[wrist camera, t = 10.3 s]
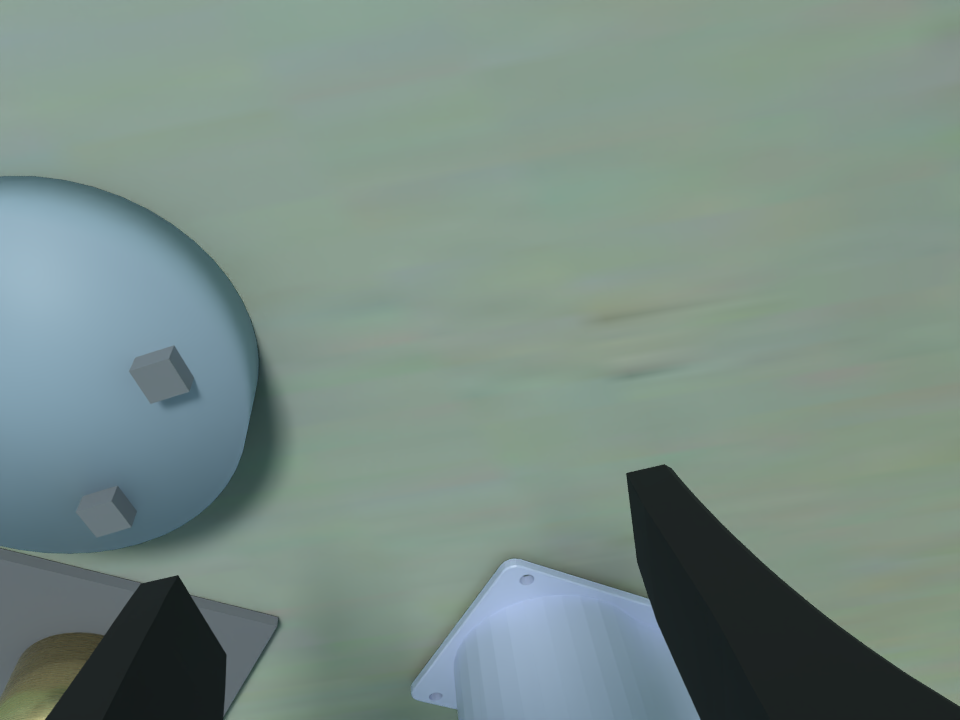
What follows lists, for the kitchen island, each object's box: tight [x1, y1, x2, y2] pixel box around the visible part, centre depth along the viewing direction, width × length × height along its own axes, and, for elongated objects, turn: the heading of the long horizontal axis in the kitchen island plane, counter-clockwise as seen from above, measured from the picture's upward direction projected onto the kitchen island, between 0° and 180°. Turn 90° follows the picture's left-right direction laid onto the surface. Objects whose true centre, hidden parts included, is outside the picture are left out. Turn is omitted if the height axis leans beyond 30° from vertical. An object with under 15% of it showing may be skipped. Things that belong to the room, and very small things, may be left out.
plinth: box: [0, 176, 259, 554], centre depth 20 cm, size 10×10×3 cm
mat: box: [0, 548, 278, 717], centre depth 28 cm, size 10×10×1 cm
